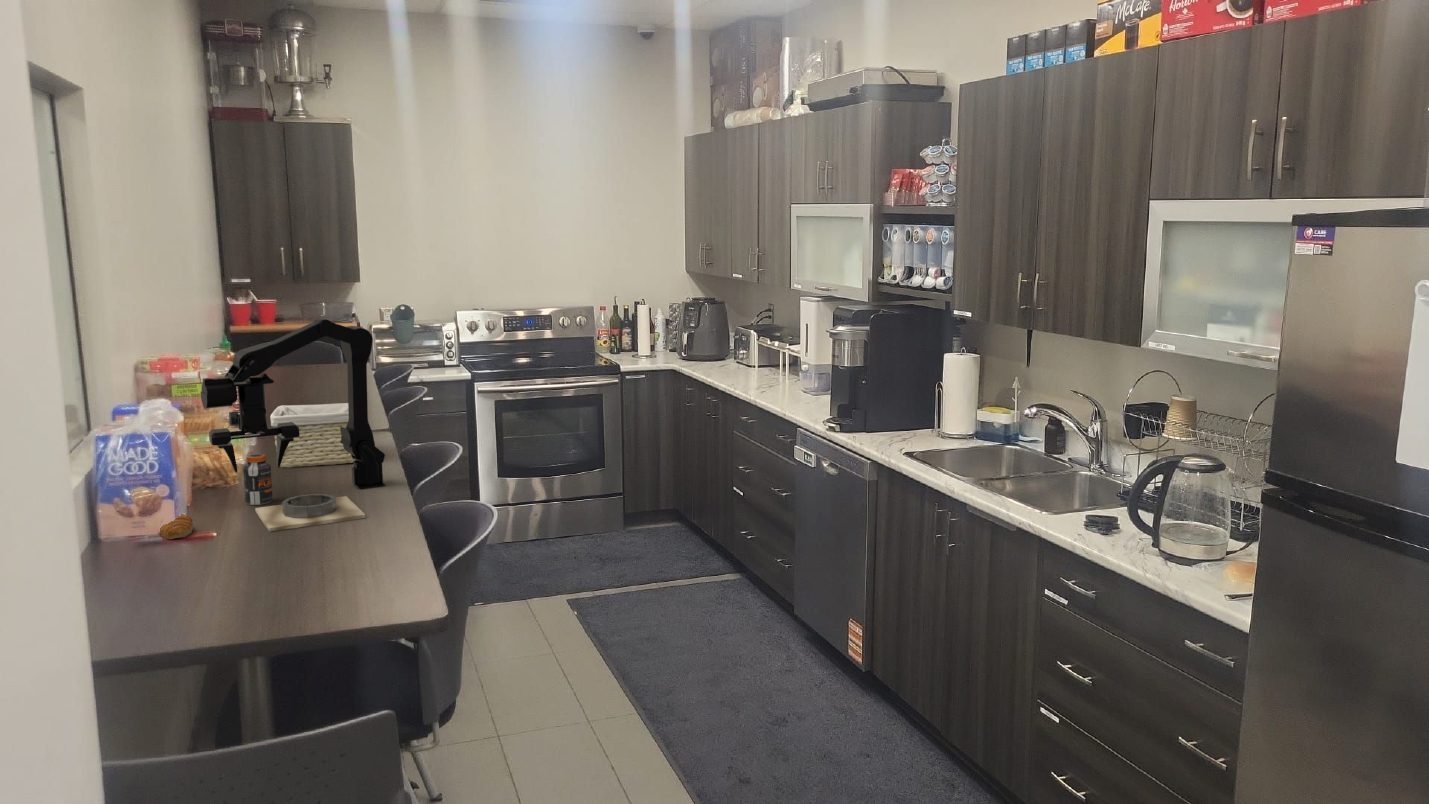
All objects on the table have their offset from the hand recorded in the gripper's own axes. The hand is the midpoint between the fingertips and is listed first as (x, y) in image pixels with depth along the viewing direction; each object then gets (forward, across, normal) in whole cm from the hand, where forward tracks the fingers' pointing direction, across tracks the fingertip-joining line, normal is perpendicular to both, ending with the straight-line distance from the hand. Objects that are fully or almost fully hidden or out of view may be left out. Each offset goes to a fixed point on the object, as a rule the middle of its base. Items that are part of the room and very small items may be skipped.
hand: (257, 469), depth 242 cm
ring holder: (+8, -8, +17) cm, 20 cm away
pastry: (+8, +19, +17) cm, 27 cm away
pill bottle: (+8, 0, 0) cm, 8 cm away
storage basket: (+8, -22, -37) cm, 43 cm away
